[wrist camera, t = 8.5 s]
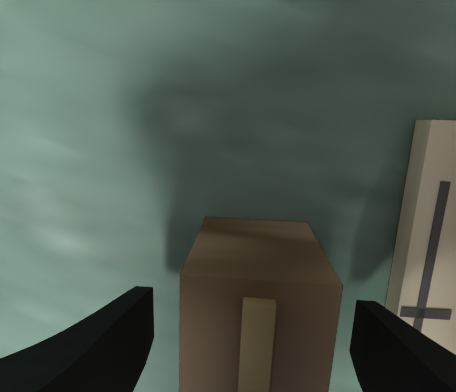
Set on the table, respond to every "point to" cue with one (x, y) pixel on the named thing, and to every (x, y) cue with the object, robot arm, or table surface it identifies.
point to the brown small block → (257, 309)
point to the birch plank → (428, 236)
